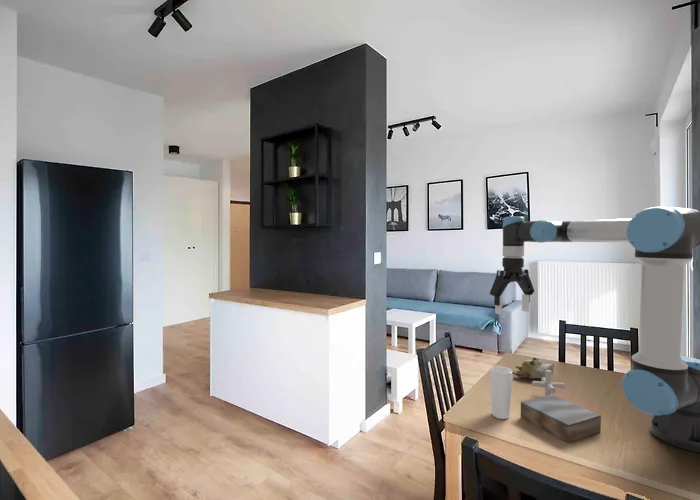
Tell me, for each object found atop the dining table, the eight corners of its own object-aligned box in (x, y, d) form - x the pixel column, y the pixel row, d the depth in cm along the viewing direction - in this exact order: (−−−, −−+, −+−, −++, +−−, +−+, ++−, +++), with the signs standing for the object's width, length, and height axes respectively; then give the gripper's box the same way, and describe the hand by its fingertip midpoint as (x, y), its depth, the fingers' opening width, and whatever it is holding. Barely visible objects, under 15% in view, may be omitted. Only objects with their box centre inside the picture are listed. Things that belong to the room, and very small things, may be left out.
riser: (600, 432, 110) (601, 415, 110) (568, 442, 104) (568, 425, 104) (551, 409, 125) (551, 394, 125) (520, 417, 119) (520, 401, 119)
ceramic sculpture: (552, 363, 144) (510, 358, 152) (553, 386, 144) (511, 380, 152) (555, 356, 153) (515, 352, 161) (556, 377, 153) (516, 372, 161)
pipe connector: (568, 406, 127) (569, 377, 126) (536, 403, 129) (537, 374, 128) (558, 394, 137) (559, 366, 136) (528, 392, 139) (529, 365, 138)
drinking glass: (485, 415, 121) (485, 368, 120) (496, 409, 125) (496, 364, 124) (505, 423, 115) (506, 374, 115) (516, 416, 120) (516, 369, 119)
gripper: (528, 256, 152) (528, 308, 153) (480, 257, 143) (479, 313, 143) (545, 257, 146) (544, 311, 146) (495, 258, 136) (494, 317, 137)
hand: (512, 312), depth 145 cm, fingers open, 13 cm apart
